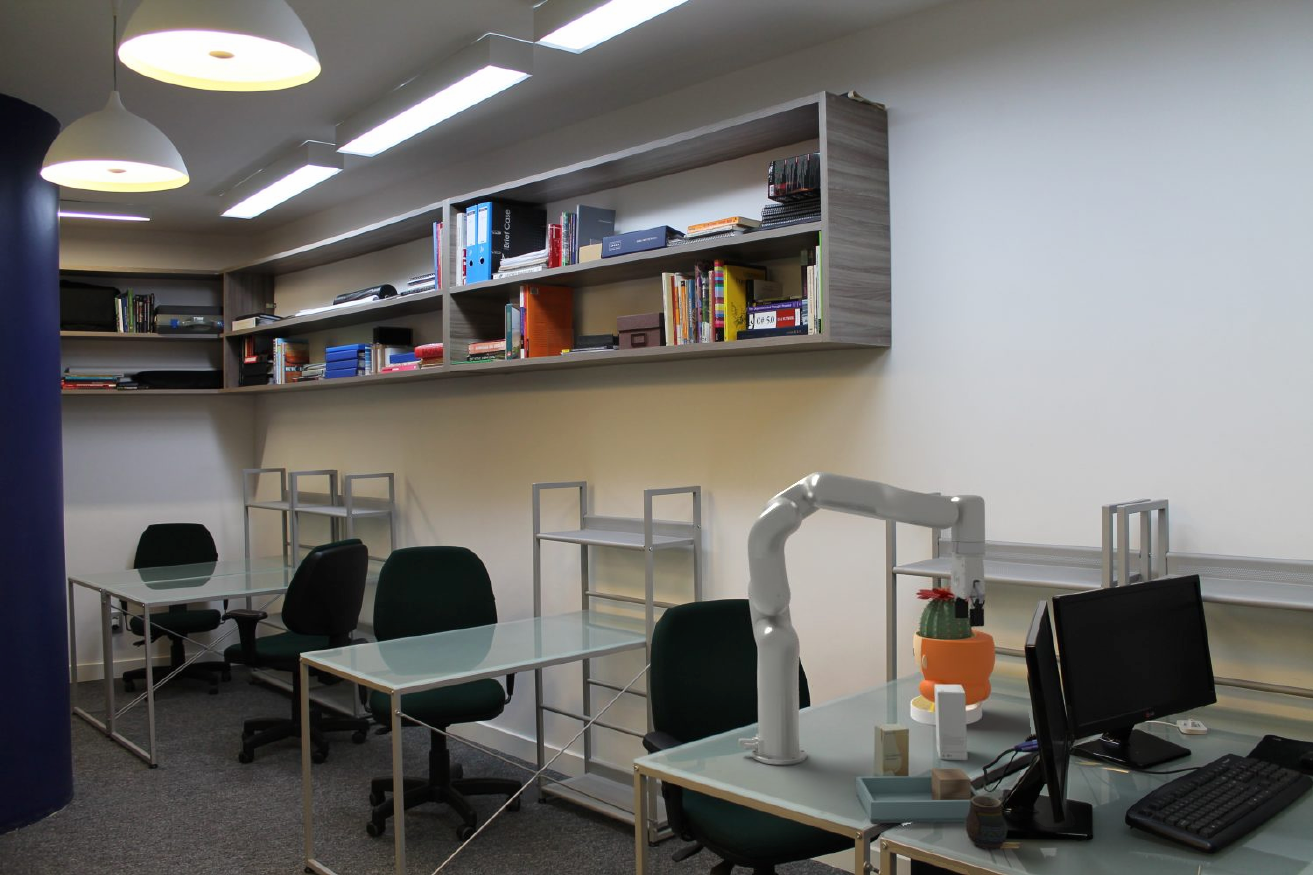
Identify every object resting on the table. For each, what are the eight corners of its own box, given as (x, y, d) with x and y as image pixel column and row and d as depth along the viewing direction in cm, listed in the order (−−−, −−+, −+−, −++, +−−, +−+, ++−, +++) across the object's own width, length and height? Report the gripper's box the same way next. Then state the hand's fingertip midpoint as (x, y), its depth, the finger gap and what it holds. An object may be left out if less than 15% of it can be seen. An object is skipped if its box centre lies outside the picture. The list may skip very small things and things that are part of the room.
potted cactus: (895, 716, 256) (893, 584, 256) (941, 700, 271) (939, 575, 271) (969, 734, 240) (968, 593, 240) (1014, 716, 255) (1012, 583, 255)
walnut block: (940, 809, 191) (940, 779, 191) (931, 798, 197) (931, 768, 197) (970, 809, 191) (970, 779, 191) (961, 798, 197) (961, 768, 197)
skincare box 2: (967, 761, 221) (966, 693, 221) (937, 759, 222) (936, 691, 222) (963, 749, 229) (962, 683, 229) (934, 748, 230) (933, 682, 230)
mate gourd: (1000, 835, 180) (1000, 782, 180) (1013, 853, 173) (1013, 797, 173) (961, 835, 181) (961, 782, 181) (973, 853, 173) (972, 797, 173)
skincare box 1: (883, 788, 205) (882, 730, 205) (873, 781, 209) (872, 724, 209) (910, 785, 207) (909, 727, 206) (900, 778, 211) (899, 722, 211)
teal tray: (871, 823, 187) (870, 802, 187) (856, 795, 201) (856, 776, 201) (985, 821, 187) (985, 801, 187) (962, 794, 201) (962, 775, 201)
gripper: (939, 544, 234) (940, 615, 234) (965, 553, 216) (966, 629, 216) (970, 543, 234) (971, 614, 234) (998, 552, 217) (999, 629, 217)
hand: (969, 621), depth 225 cm, fingers open, 9 cm apart
